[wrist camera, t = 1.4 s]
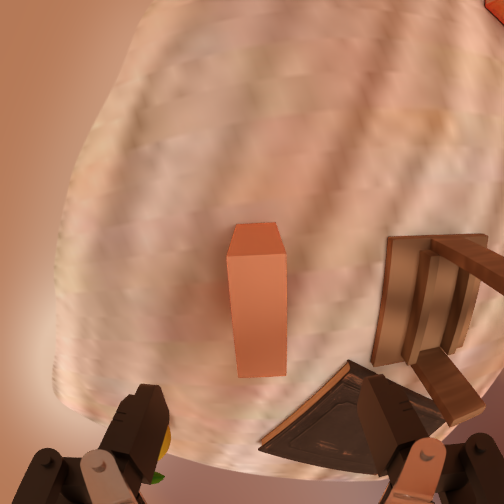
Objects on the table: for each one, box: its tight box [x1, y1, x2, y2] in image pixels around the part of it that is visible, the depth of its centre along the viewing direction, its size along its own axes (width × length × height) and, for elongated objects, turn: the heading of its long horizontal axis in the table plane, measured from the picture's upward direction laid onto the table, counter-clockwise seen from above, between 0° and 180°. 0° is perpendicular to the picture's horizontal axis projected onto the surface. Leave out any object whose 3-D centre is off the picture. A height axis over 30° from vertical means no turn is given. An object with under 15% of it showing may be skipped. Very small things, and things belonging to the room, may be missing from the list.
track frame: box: [371, 234, 504, 428], centre depth 19 cm, size 13×12×11 cm
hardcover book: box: [258, 360, 446, 475], centre depth 29 cm, size 16×23×2 cm
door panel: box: [226, 222, 287, 378], centre depth 19 cm, size 8×3×8 cm, turn 3°
